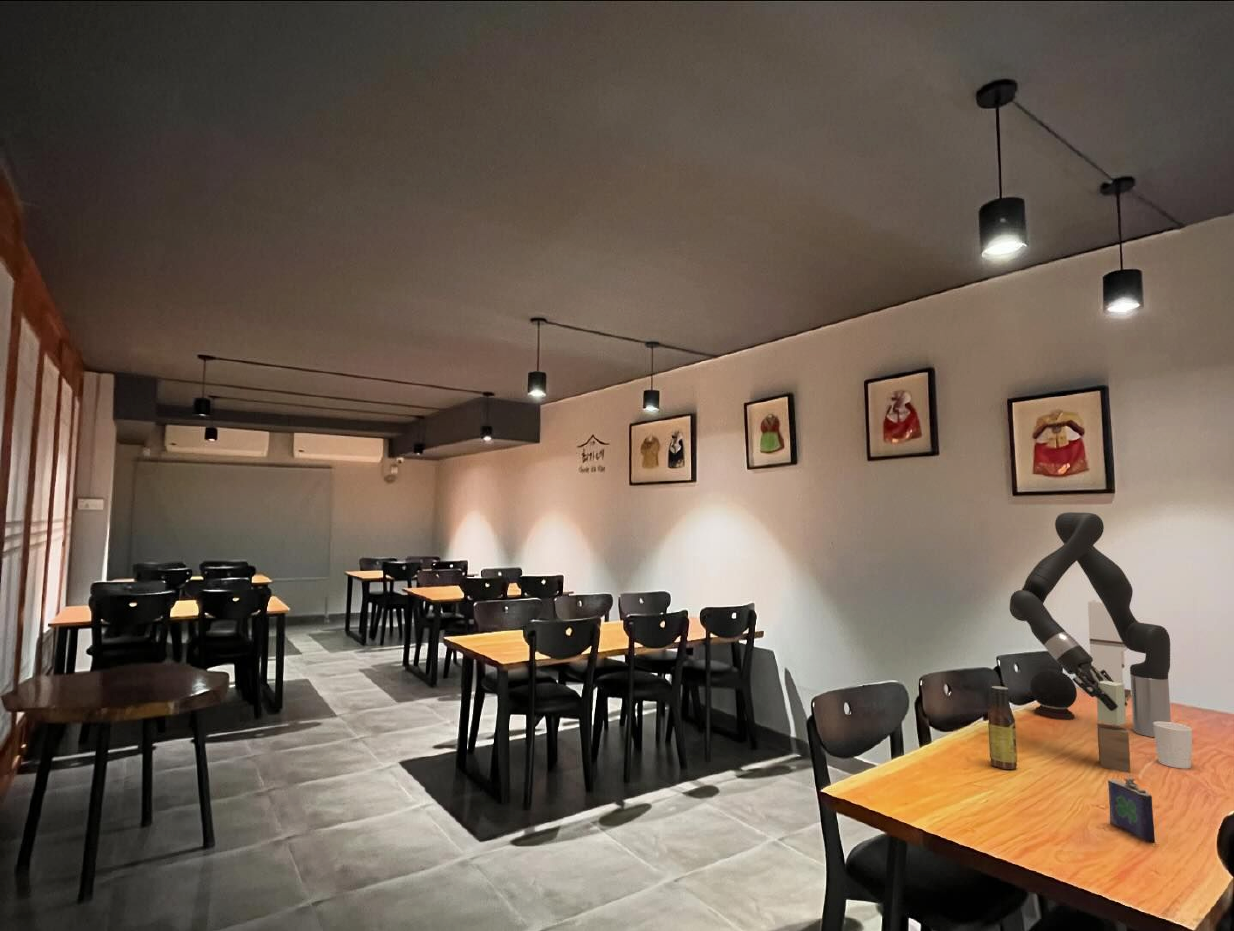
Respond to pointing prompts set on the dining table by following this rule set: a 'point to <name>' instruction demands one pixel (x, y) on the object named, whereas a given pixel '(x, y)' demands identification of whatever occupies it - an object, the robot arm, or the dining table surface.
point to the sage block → (1118, 697)
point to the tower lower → (1114, 760)
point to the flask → (1131, 809)
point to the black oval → (1053, 694)
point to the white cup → (1173, 744)
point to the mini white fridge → (1106, 643)
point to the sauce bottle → (1002, 730)
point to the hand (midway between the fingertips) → (1119, 707)
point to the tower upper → (1113, 737)
